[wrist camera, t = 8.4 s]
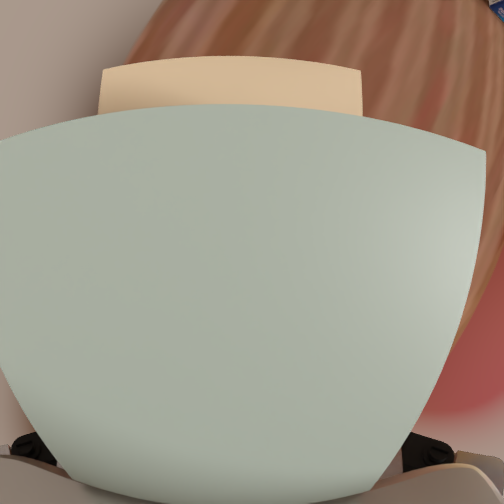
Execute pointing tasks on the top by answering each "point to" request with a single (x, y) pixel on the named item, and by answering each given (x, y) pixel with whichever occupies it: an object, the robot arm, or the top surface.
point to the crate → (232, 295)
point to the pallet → (231, 84)
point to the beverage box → (497, 8)
